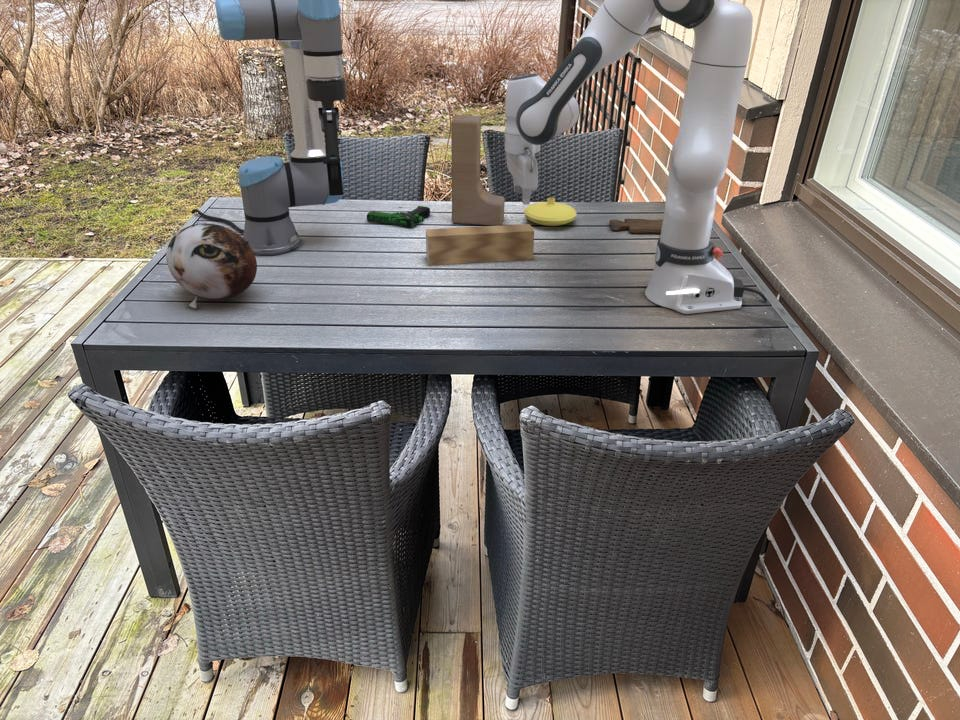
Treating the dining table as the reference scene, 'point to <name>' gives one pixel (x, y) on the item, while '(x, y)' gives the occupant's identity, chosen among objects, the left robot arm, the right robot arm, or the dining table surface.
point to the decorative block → (471, 176)
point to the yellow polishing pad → (550, 213)
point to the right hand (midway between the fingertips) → (521, 198)
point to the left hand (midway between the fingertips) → (335, 185)
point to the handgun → (400, 217)
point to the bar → (479, 244)
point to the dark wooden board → (637, 225)
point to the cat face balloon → (211, 261)
